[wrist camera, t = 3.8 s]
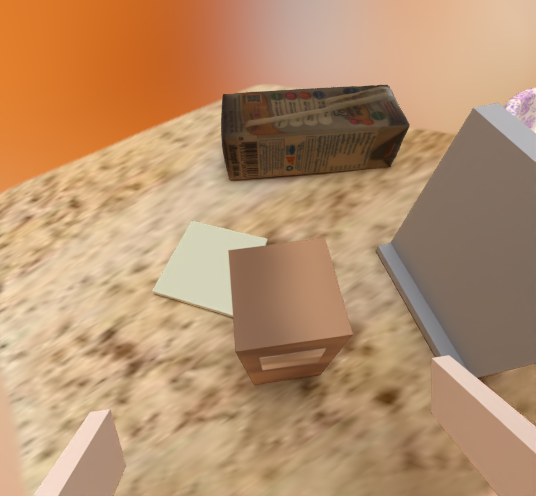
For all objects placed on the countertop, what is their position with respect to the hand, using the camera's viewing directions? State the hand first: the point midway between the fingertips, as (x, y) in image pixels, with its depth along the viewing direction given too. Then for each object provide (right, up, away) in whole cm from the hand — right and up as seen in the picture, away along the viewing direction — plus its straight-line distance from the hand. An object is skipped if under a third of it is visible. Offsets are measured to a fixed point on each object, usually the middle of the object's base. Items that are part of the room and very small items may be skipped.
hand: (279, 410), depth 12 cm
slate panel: (+13, +2, +12) cm, 18 cm away
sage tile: (-6, +5, +15) cm, 17 cm away
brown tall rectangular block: (+1, -1, +11) cm, 11 cm away
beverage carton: (+4, +18, +23) cm, 30 cm away
